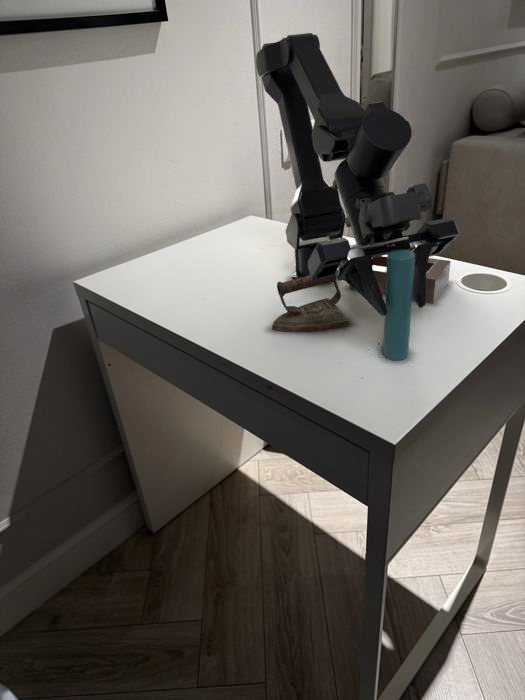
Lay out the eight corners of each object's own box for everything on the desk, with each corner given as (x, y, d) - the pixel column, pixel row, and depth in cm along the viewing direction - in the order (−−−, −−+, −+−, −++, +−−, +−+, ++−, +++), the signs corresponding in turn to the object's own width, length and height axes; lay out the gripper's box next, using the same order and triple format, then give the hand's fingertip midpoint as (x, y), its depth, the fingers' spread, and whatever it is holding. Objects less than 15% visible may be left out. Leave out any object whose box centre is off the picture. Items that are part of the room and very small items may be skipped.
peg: (379, 357, 68) (383, 257, 61) (388, 345, 71) (393, 248, 63) (403, 362, 67) (409, 260, 59) (411, 350, 69) (418, 251, 62)
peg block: (349, 289, 87) (349, 266, 85) (368, 271, 92) (368, 249, 90) (433, 303, 80) (435, 279, 78) (448, 283, 85) (450, 260, 83)
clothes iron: (355, 326, 77) (342, 271, 70) (285, 357, 76) (266, 304, 70) (335, 303, 82) (322, 250, 76) (271, 331, 82) (252, 280, 75)
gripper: (312, 174, 58) (353, 303, 54) (460, 150, 61) (507, 270, 58) (293, 223, 68) (326, 334, 65) (420, 201, 72) (458, 304, 69)
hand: (403, 310), depth 64 cm, fingers open, 5 cm apart
